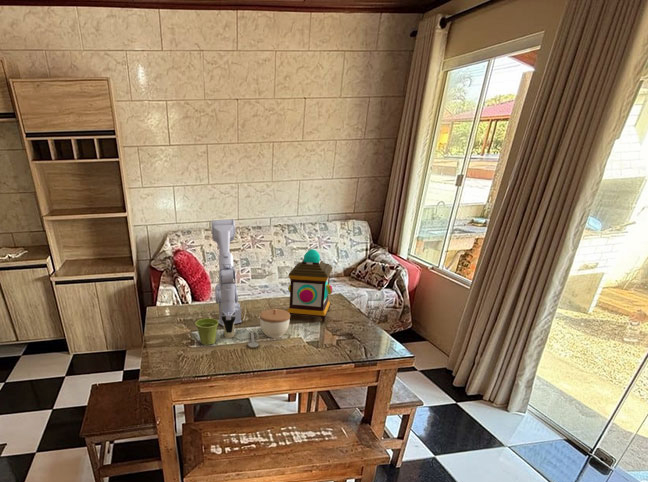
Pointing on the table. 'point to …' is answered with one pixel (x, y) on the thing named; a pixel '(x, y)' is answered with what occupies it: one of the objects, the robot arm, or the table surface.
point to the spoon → (253, 342)
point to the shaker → (229, 333)
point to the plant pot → (207, 330)
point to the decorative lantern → (310, 287)
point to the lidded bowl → (274, 322)
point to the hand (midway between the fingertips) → (229, 329)
